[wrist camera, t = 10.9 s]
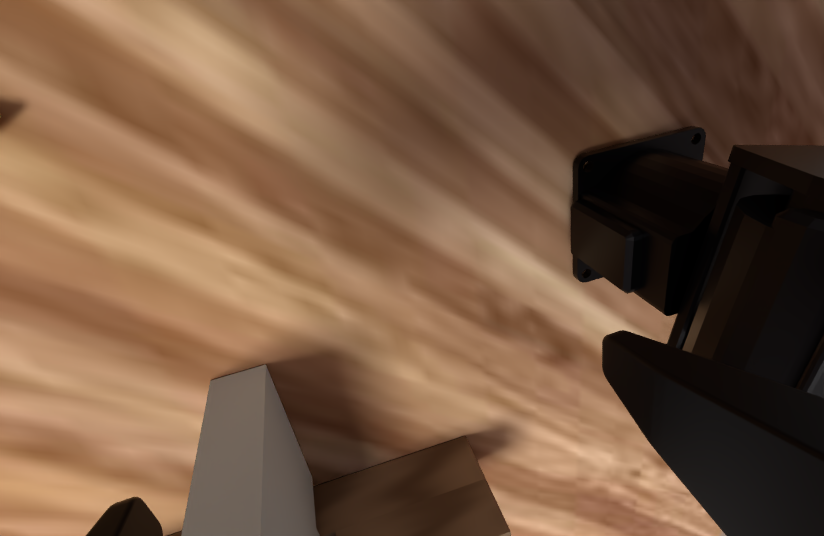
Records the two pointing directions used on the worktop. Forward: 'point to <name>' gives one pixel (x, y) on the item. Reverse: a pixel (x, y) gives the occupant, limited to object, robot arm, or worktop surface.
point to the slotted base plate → (412, 498)
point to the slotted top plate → (248, 465)
